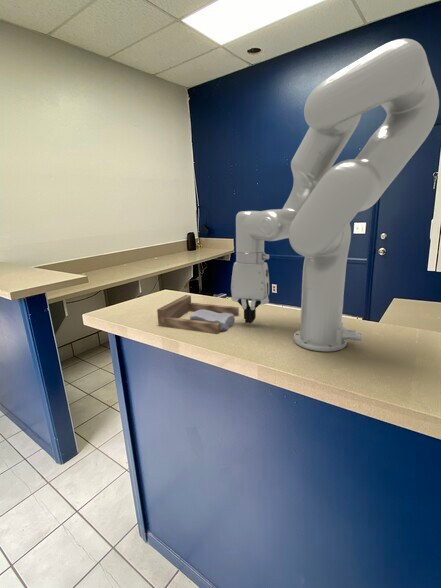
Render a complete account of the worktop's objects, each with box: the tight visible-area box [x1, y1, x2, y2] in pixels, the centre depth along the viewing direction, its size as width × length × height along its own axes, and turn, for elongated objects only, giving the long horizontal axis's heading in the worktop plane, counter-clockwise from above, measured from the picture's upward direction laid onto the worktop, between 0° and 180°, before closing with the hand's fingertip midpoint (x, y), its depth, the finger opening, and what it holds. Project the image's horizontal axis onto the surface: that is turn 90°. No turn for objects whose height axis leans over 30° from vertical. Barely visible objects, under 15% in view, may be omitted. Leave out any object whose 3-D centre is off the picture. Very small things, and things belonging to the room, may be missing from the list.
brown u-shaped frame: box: [156, 294, 240, 334], centre depth 94 cm, size 19×17×5 cm
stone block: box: [189, 309, 236, 332], centre depth 91 cm, size 12×5×10 cm
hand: (249, 321), depth 89 cm, fingers closed
